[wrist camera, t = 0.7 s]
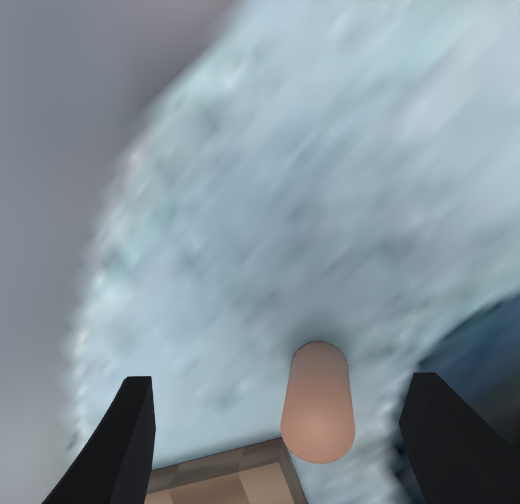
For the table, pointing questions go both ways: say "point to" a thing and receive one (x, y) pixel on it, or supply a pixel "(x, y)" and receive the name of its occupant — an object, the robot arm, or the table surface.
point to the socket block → (230, 478)
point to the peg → (318, 405)
